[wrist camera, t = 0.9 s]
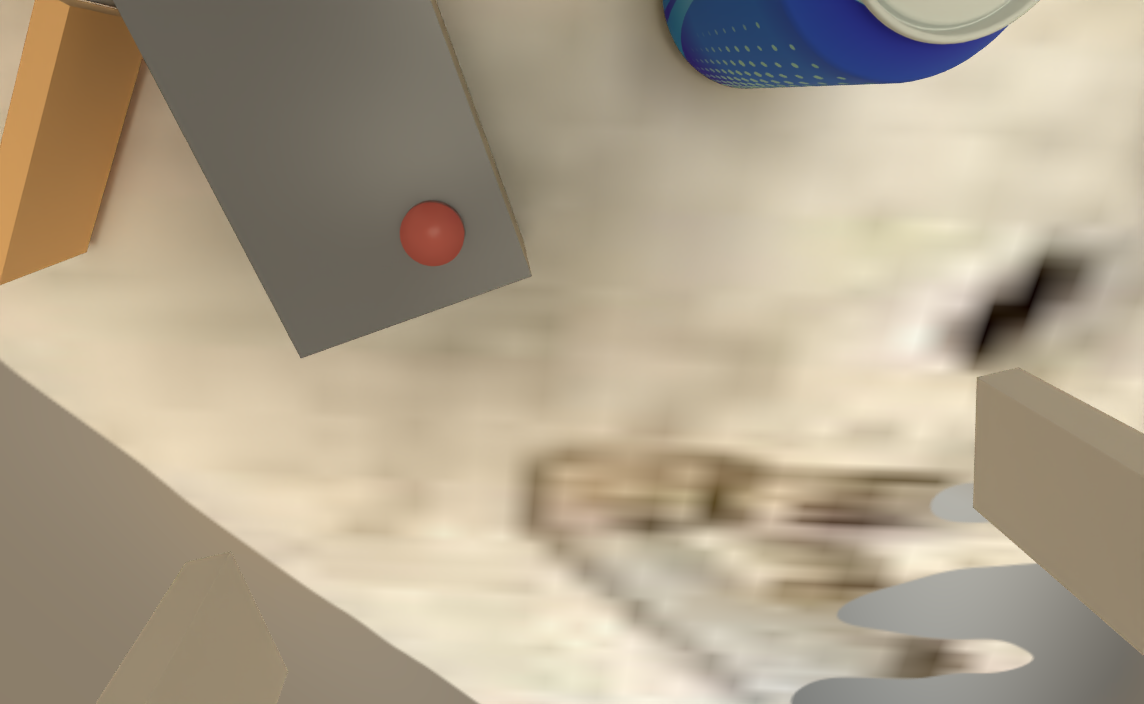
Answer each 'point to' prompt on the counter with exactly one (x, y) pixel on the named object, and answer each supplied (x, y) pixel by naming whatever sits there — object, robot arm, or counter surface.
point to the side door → (62, 131)
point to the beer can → (833, 38)
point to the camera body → (337, 154)
